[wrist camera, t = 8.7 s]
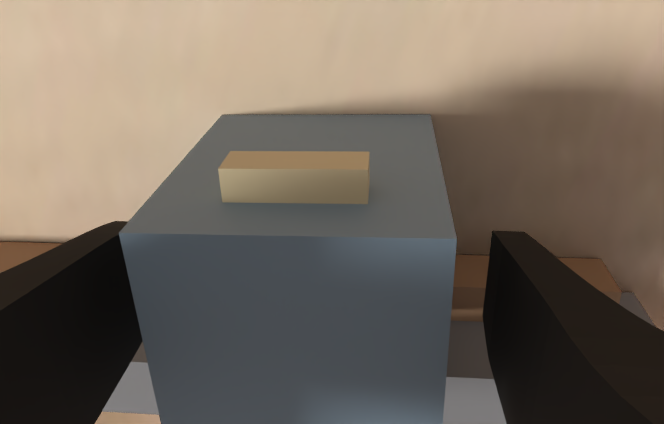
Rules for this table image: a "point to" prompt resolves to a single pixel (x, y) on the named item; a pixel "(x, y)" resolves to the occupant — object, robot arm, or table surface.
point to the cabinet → (298, 273)
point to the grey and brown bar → (463, 354)
